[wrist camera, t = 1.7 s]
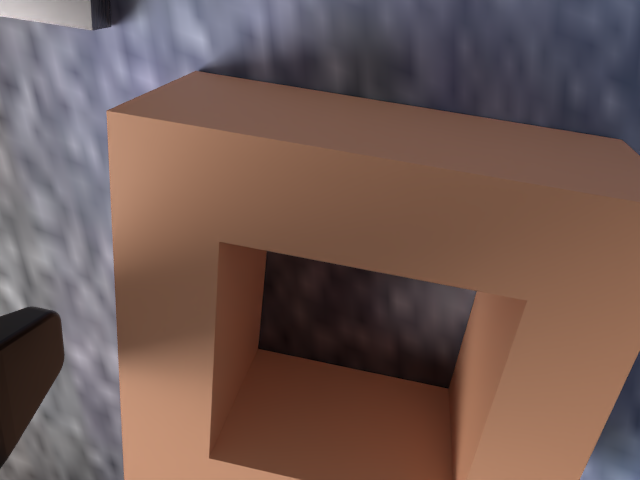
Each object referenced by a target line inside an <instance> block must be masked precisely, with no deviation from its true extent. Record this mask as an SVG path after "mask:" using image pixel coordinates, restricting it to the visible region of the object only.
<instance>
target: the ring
mask: <svg viewBox="0 0 640 480" xmlns="http://www.w3.org/2000/svg"><path fill="white" fill-rule="evenodd" d="M107 129H108V150H109V171H110V192H111V213H112V234H113V255H114V276H115V297H116V318H117V339H118V360H119V381H120V402H121V422H122V443H123V464H124V480H580V477H581V475H582V473H583V471H584V469H585V467H586V465H587V462H588V460H589V458H590V456H591V454H592V452H593V450H594V447H595V445H596V443H597V441H598V439H599V437H600V435H601V432H602V430H603V428H604V426H605V424H606V422H607V420H608V417H609V415H610V413H611V411H612V409H613V407H614V405H615V402H616V400H617V398H618V396H619V394H620V392H621V390H622V387H623V385H624V383H625V381H626V379H627V377H628V375H629V372H630V370H631V368H632V366H633V364H634V362H635V360H636V357H637V355H638V353H639V351H640V155H638V154H637V153H636V152H635V151H634V150H633V149H632V148H631V147H630V146H628V145H627V144H626V143H625V142H624V141H623V140H621V139H614V138H608V137H602V136H596V135H590V134H583V133H577V132H571V131H565V130H559V129H552V128H546V127H540V126H534V125H528V124H521V123H515V122H509V121H503V120H497V119H490V118H484V117H478V116H472V115H466V114H460V113H453V112H447V111H441V110H435V109H429V108H422V107H416V106H410V105H404V104H398V103H391V102H385V101H379V100H373V99H367V98H360V97H354V96H348V95H342V94H336V93H329V92H323V91H317V90H311V89H305V88H298V87H292V86H286V85H280V84H274V83H267V82H261V81H255V80H249V79H243V78H237V77H230V76H224V75H218V74H212V73H206V72H199V71H195V72H192V73H190V74H188V75H186V76H183V77H181V78H179V79H177V80H174V81H172V82H170V83H168V84H165V85H163V86H161V87H159V88H157V89H154V90H152V91H150V92H148V93H145V94H143V95H141V96H139V97H136V98H134V99H132V100H130V101H127V102H125V103H123V104H121V105H118V106H116V107H114V108H112V109H109V110H107ZM267 251H271V252H276V253H281V254H286V255H291V256H297V257H302V258H307V259H312V260H317V261H323V262H328V263H333V264H338V265H344V266H349V267H354V268H359V269H364V270H370V271H375V272H380V273H385V274H390V275H396V276H401V277H406V278H411V279H416V280H422V281H427V282H432V283H437V284H443V285H448V286H453V287H458V288H463V289H469V290H474V291H477V292H476V296H475V299H474V303H473V306H472V310H471V313H470V317H469V320H468V324H467V327H466V330H465V334H464V337H463V341H462V344H461V348H460V351H459V355H458V358H457V362H456V365H455V368H454V372H453V375H452V379H451V382H450V386H449V389H447V388H443V387H438V386H433V385H428V384H424V383H419V382H414V381H409V380H404V379H400V378H395V377H390V376H385V375H381V374H376V373H371V372H366V371H362V370H357V369H352V368H347V367H343V366H338V365H333V364H328V363H323V362H319V361H314V360H309V359H304V358H300V357H295V356H290V355H285V354H281V353H276V352H271V351H266V350H262V349H258V344H259V333H260V322H261V311H262V300H263V289H264V278H265V267H266V255H267Z"/></svg>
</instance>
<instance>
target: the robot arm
mask: <svg viewBox="0 0 640 480" xmlns="http://www.w3.org/2000/svg"><path fill="white" fill-rule="evenodd" d="M63 362H64V345H63V335H62V325H61V319H60V316H59V314H58V313H57V312H55V311H53V310H48V309H43V308H38V307H27V308H24V309H21V310H18V311H15V312H12V313H9V314H6V315H3V316H0V468H1V467H2V466H3V464H4V463H5V461H6V460H7V459H8V457H9V455H10V454H11V452H12V451H13V449H14V448H15V446H16V444H17V443H18V441H19V440H20V438H21V436H22V434H23V433H24V431H25V429H26V428H27V426H28V424H29V423H30V421H31V419H32V418H33V416H34V414H35V413H36V411H37V409H38V408H39V406H40V404H41V403H42V401H43V399H44V398H45V396H46V394H47V393H48V391H49V389H50V388H51V386H52V384H53V383H54V381H55V379H56V378H57V376H58V374H59V372H60V371H61V368H62V366H63Z"/></svg>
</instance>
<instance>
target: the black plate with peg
mask: <svg viewBox="0 0 640 480" xmlns="http://www.w3.org/2000/svg"><path fill="white" fill-rule="evenodd" d="M0 16H4V17H10V18H16V19H23V20H29V21H35V22H42V23H48V24H54V25H61V26H67V27H74V28H80V29H86V30H97V29H102V28H108V27H111V17H110V0H0Z"/></svg>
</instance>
